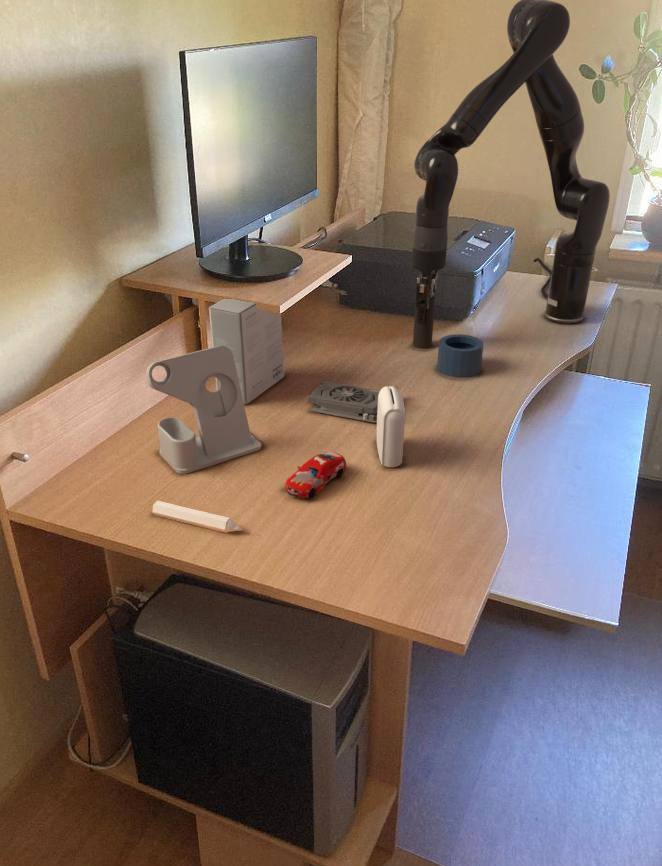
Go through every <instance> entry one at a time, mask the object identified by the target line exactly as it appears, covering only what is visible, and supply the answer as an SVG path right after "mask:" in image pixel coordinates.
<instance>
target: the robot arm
mask: <svg viewBox="0 0 662 866" xmlns="http://www.w3.org/2000/svg"><path fill="white" fill-rule="evenodd" d="M506 23H507V25H506V33H507V38H508V42H509V45H510V47H511V50H512V52H513V53H512V55H511V56H510V57H509V58H508V59H507V60H506V61H505V62H504V63H503V64H502V65H501V66H500V67H498V69H496V70H495V71H493V72H492V73H491V74H490V75H488V76H487V77H486V78H485V79H483V80H482V81H481V82H479V83H478V84H477V85H476V86H475V87H474V88H472V89H471V90H470V91H469V92H468V93H467V95H466V96H465V97H464V98H463V100H462V101H461V102H460V103H459V104H458V106H457V107H456V109H455V110H454V112H453V113H452V114H451V115H450V117H449V119H448V121H446V123H445V124H443V125H442V126H441V127H440V128H439V129H438V130H436V132H435V133H434V134H433V135H432V136H430V137H429V138H428V139H427V140H426V141H425V142H424V143H423V145H422V146H421V147H420V149H419V150H418V152H417V154H416V156H415V159H414V163H413V167H414V172H415V174H416V176H417V177H419V179H421V180H423V181H425V188H424V193H423V194H422V195H420V196H419V197H418V198H417V201H416V206H415V217H414V218H415V221H414V223H415V224H414V229H413V235H412V249H411V266H412V267H413V269H415V270H419V271H420V272H419V275H418V276H417V278H416V280H417V281H416V285H415V287H416V289H415V290H416V291H415V292H416V293H415V304H416V308H418V315H417V323H418V324H426V323H427V318H428V307H429V300H430V298H432V295H433V296H435V294H436V292H437V290H436V289H437V280H438V275H439V274H438V271H440V270H443V269H444V268H445V267H446V265H447V253H448V240H449V218H450V204H451V201H452V198H453V195H454V192H455V188H456V185H457V181H458V177H459V162H458V159H457V156H456V155H457V153H459V152H460V150H462V149H465V148H469V147H471V146H473V145H474V143H475V142H477V140H478V138H479V137H480V136H481V134H482V133H483V132H484V131H485V129H486V128H487V127H488V126H489V124H490V123H491V121H492V120H493V119H494V118H495V117H496V115H497V114H498V112H499V111H500V110H501V109H502V107H503V106H504V105H505V104H506V103H507V102H508V100H509V99H511V97H512V96H513V95H514V94H515V93H516V92H517V91H518V90H519V89H520V88H521V87H522V86H523V85H524V84H525V86H526V89H527V94H528V97H529V101H530V104H531V107H532V110H533V114H534V115H533V116H534V119H535V122H536V123H535V124H536V126H537V131H538V134H539V138H540V140H541V143H542V146H543V149H544V154H545V158H546V161H547V166H548V170H549V175H550V180H551V187H552V194H553V199H554V204H555V207H556V210H557V212H558V213H559V214H560V215H561V216H562V217H564V218H566V219H569V220H573V221H575V228H574V229H573V231H572V232H566V233H563V234H560V235H559V236H558V237H557V239H556V244H555V251H554V257H553V263H552V269H550V268H549V267H548V266H546V264H544V262H543V261H542V260H541V258H539V257H535V258H534V260H533V262H534V263H537V262H538V263H539V264H540V266H541V267H542V268H543V269H544V270H545V271H547V273H548V274H549V278H548V279H547V280H546V281H545V284H544V285H542V287H541V290H540V292H541V294H542V296H543V297H544V298H545V300H546V306H545V310H544V315H543V316H544V318H545V319H546V320H548V321H550V322H553V323H557V324H563V325H564V324H565V325H566V324H567V325H569V324H571V325H572V324H578V323H581V322H582V321H583V320H584V316H585V314H584V313H585V308H586V305H587V304H586V303H587V298H588V293H589V287H590V282H591V277H592V272H593V266H594V262H595V257H596V256H595V255H596V251H597V246H598V243H599V242H600V240H601V237H602V235H603V230H604V226H605V222H606V218H607V214H608V210H609V206H610V201H611V200H610V196H611V193H610V188H609V187H608V185H607V184H606V183H605V182H601V181H598V180H593V179H589V178H584V177H582V175H581V174H580V171H579V168H578V163H577V152H578V150H579V147H580V145H581V143H582V140H583V137H584V133H585V121H584V120H585V119H584V116H583V113H582V112H583V111H582V108H581V103H580V101H579V97H578V95H577V93H576V91H575V90H574V88H573V86H572V85H571V83H570V82H569V80H568V78H567V77H566V75H565V74H564V73H563V71H562V70H561V68H560V66H559V65H558V63H557V61H556V58H555V56H554V54H555V52H556V51H558V49H559V48H560V47H561V45H562V44H563V43H564V41H565V40H566V38H567V36H568V33H569V29H570V25H571V16H570V12H569V11H568V8H567V7H566V6H565V5H564V4H562V3H559V2H557V1H552V0H519V1H517V2H516V3H515V4H514V5H513V6H512V8H511V10H510V12H509V15H508V18H507V22H506ZM548 285H549V287H548ZM547 287H548V294H547V293H546V291H545V289H546V288H547ZM421 299H423V300H425V303H420V302H421Z"/></svg>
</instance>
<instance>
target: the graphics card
mask: <svg viewBox="0 0 662 866" xmlns="http://www.w3.org/2000/svg"><path fill="white" fill-rule="evenodd" d="M394 387H395V388H397V389H398V390H399V387H398V385H395V386H394ZM380 391H381V390H378V389H374V388H373V389H372V388H366V387H360V386H355V385H348V384H341V383H335V382H331V381H326V380H325V381H324V380H323V381H320V385H319V386H317V387H316V388H314V389H313V390H312V391H311V394H307V395H306V401H307V403H310V404H314V406H313V407H311V409H310V412H315V413H320V414H324V415H330V416H336V417H342V418H348V419H353V420H358V421H364V422H368V423H374V424H377V410H378V395H379V392H380Z"/></svg>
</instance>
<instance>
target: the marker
mask: <svg viewBox="0 0 662 866" xmlns="http://www.w3.org/2000/svg"><path fill="white" fill-rule="evenodd" d="M151 512H152V514H153V515H154V516H156V517H161V518H163V519H169V520H173V521H177V522H181V523H185V524H190V525H192V526H197V527H200V528H204V529H208V530H213V531H217V532H221V533H225V534H228V533H230V532H239V531H244V528H242V527H240V526H238V525H237V523H236V522H234V521H233V520H232V518H230V517H227V516H223V515H219V514H215V513H211V512H206V511H203V510H199V509H194V508H189V507H185V506H183V505H182V506H181V505H177V504H173V503H169V502H165V501H161V500H156V501H155V502H154V503H153V506H152V511H151Z"/></svg>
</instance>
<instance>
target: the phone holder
mask: <svg viewBox="0 0 662 866" xmlns="http://www.w3.org/2000/svg"><path fill="white" fill-rule="evenodd" d="M156 367H162V368H163V369H164V370H165V378H164V379H163V380H162V381H158V380H156V379H154V377H153V370H154V369H155V368H156ZM145 376H146V380H147V384H148V386H149V387H150V388H151V389H153V390H155V391H157V392H160V393H163V394H165V395H168V396H170V397H173V398H175V399H176V400H180V401H182V402H185V403H187V404H189V405H190V406H191V407H192V409H193V413H194V417H195V422H196V425H197V429H198V434H199V435H196V433H195V431H194V430H192V429H191V427H189V426H188V425H187V424H186V423H185V422H184V421H183V420H181V419H180V418H177V417H166V418H163V419H161V420H160V421H159V422H157V433H158V440H159V449H158V450H159V451H158V452H159V456H161V458H162V459H163V460H164V461H165V462H166V463H167V465H169V466H170V467H171V468H172V469H173V470H174V471H175V473H177V474H180V475H186V474H190V473H192V472H196V471H199V470H202V469H205V468H209V467H211V466H214V465H217V464H220V463H221V464H222V463H225V462H227V461H229V460H233V459H236V458H240V457H243V456H246V455H249V454H251V453H256V452H258V451H260V450H261V449H262V443H261V441H259V439H257V438H256V437H254V436H253V435H252V434H251V430H250V426H249V421H248V416H247V412H246V408H245V405H244V402H243V398H242V393H241V389H240V384H239V380H238V375H237V371H236V366H235V362H234V357H233V354H232V351H231V350H230V349H229V348H227V347H225V346H216V347H213V346H212V347H209V348H205V349H201V350H196V351H193V352H188V353H185V354H181V355H177V356H173V357H169V358H168V357H167V358H165V359H161V360H157V361H153V362H151V363H150V364H148V366H147V368H146V372H145ZM212 377H213V378H215V377H216V378H217V379H218V380H219V382H220V387H219V389H218V390H217V389H216V391H213V392H212V391H210V390H208V389H207V387H206V381H208V380H209V379H210V378H212ZM216 378H215V379H216Z"/></svg>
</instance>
